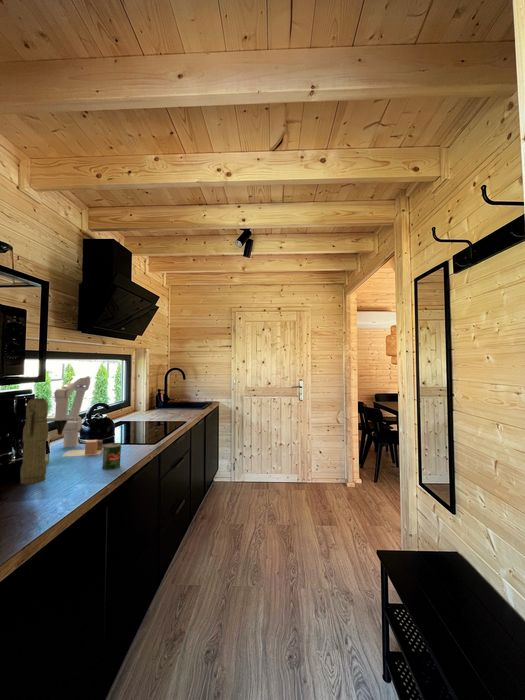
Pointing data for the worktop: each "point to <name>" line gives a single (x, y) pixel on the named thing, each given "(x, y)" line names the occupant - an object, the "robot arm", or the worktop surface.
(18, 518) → the worktop surface
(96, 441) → the tan wooden block
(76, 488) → the worktop surface
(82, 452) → the board
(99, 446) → the walnut post
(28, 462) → the tan tall block
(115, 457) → the canned tomato
